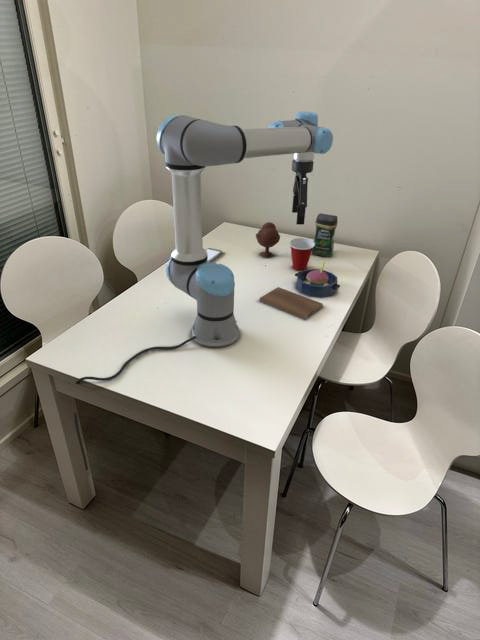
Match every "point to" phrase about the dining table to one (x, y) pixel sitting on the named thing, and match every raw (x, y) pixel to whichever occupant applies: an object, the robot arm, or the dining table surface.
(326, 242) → the coffee jar
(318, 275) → the cupcake
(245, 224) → the dining table surface
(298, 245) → the plastic cup
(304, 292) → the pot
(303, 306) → the cutting board
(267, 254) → the ice cream bowl
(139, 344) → the dining table surface
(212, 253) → the smartphone
